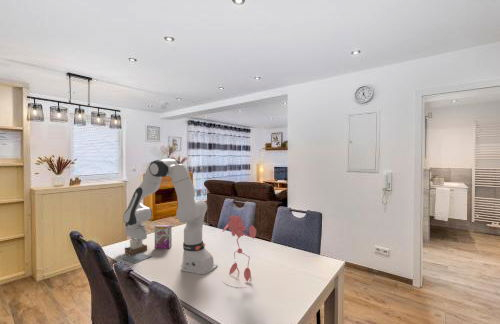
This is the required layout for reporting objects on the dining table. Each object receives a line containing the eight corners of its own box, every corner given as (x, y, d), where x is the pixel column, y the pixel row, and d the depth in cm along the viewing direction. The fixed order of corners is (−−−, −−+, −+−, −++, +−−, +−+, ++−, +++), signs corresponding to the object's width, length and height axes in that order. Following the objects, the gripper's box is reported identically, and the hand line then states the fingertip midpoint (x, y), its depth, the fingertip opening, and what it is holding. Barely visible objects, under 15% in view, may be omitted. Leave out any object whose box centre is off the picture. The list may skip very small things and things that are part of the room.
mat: (151, 256, 158) (151, 256, 158) (134, 263, 147) (134, 263, 147) (138, 252, 165) (138, 252, 165) (121, 258, 155) (121, 258, 155)
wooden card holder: (147, 250, 169) (147, 244, 169) (131, 255, 159) (131, 250, 159) (140, 247, 174) (140, 242, 174) (124, 253, 164) (124, 247, 164)
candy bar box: (154, 248, 172) (154, 226, 172) (157, 246, 177) (157, 224, 177) (169, 249, 171) (168, 226, 171) (172, 246, 176) (171, 224, 176)
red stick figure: (229, 267, 142) (228, 209, 140) (263, 281, 124) (262, 216, 123) (209, 277, 130) (208, 214, 129) (244, 295, 113) (242, 222, 112)
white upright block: (142, 250, 169) (142, 237, 169) (133, 253, 163) (132, 240, 163) (139, 249, 170) (139, 237, 170) (130, 252, 165) (130, 240, 164)
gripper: (149, 225, 164) (149, 244, 164) (131, 221, 174) (132, 240, 175) (140, 227, 158) (141, 247, 158) (123, 223, 169) (123, 242, 169)
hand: (136, 243), depth 167 cm, fingers closed on white upright block, 3 cm apart
